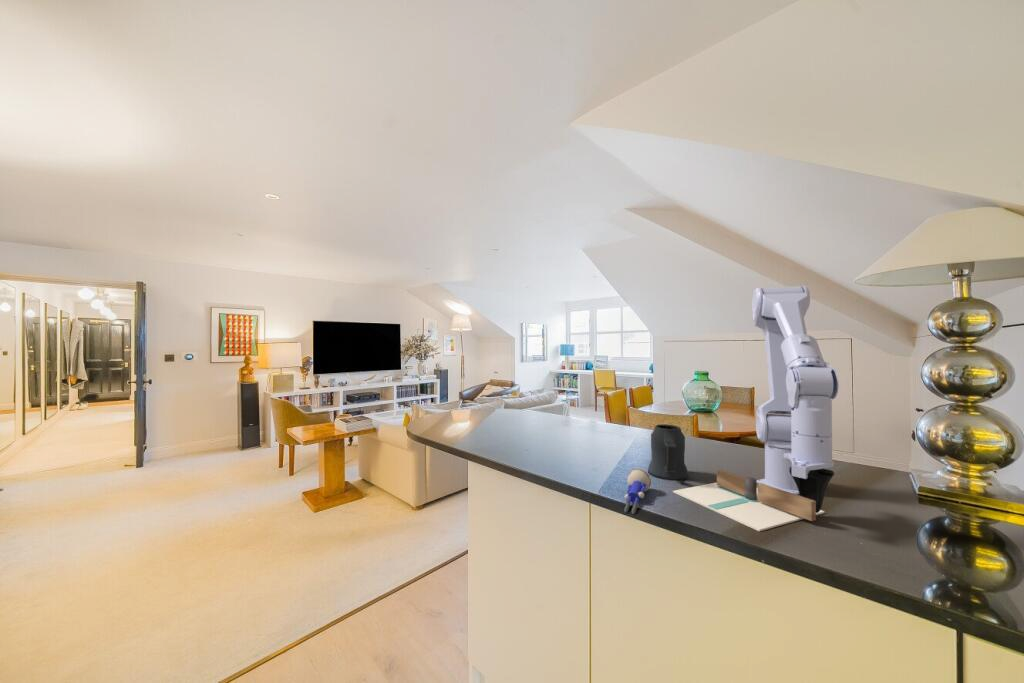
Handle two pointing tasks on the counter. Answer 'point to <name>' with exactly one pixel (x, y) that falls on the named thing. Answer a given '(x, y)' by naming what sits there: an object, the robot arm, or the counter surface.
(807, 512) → the swing panel
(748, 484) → the post and fixed rail
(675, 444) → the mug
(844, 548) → the counter surface
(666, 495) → the counter surface
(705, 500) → the mat
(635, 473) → the toy
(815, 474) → the robot arm
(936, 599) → the counter surface
